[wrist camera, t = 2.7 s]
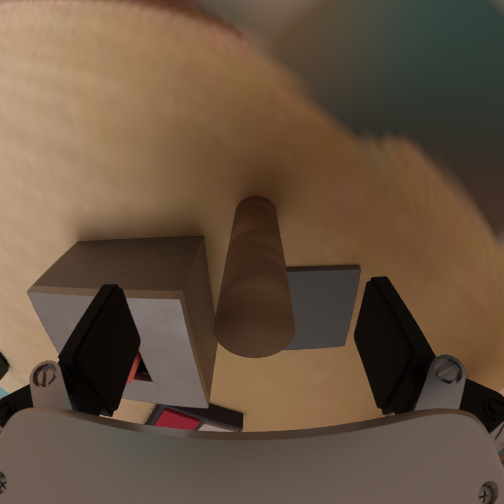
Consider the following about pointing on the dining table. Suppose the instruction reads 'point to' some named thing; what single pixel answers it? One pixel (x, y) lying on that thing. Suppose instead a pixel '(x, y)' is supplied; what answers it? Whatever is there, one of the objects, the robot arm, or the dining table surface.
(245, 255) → the brown cylinder
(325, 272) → the rest pad
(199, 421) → the calculator
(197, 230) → the dining table surface
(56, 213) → the dining table surface
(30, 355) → the dining table surface
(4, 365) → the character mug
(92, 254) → the guard box
